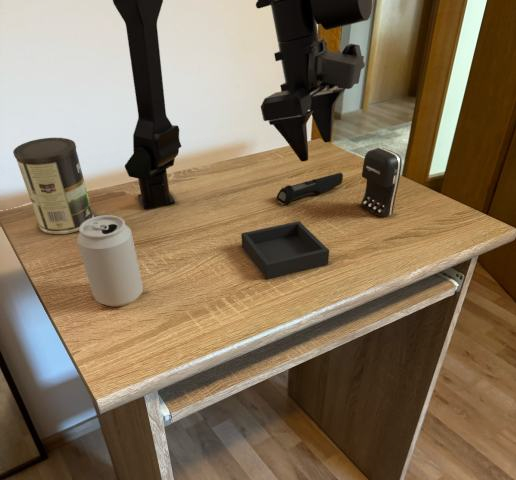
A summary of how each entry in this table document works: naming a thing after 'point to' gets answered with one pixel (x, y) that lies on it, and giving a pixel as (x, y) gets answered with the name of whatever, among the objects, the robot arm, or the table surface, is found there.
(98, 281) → the can
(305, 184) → the electric trimmer
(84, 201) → the coffee can
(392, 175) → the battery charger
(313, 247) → the black square open tray
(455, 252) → the table surface
